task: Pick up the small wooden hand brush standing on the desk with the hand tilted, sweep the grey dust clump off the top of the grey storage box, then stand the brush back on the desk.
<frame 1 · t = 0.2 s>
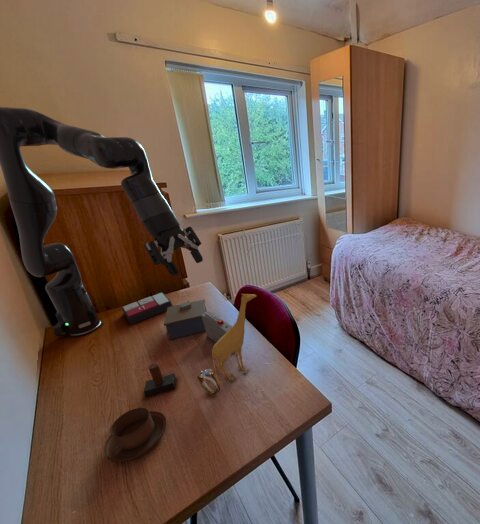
hand: (188, 268, 80), 31 cm above the table, tool tilted 20°, fingers open, 8 cm apart
giraffe: (244, 370, 87), on the table
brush: (162, 388, 81), on the table
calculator: (149, 311, 117), on the table
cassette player: (222, 342, 99), on the table
grey storage box: (190, 326, 107), on the table
brown fedora hat: (139, 439, 68), on the table
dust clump: (186, 306, 107), point 7 cm above the table, touching grey storage box
ring: (212, 393, 79), on the table
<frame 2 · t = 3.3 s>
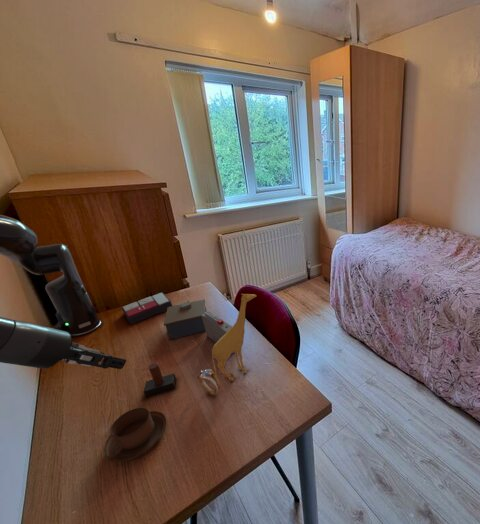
hand: (112, 360, 68), 16 cm above the table, tool tilted 40°, fingers open, 8 cm apart
nothing on the table moved.
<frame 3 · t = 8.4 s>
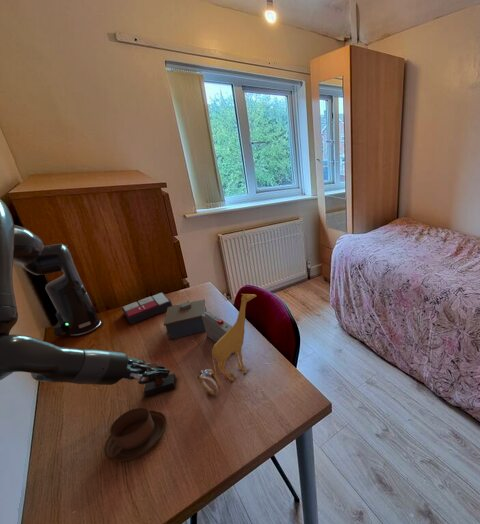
hand: (165, 371, 81), 4 cm above the table, tool tilted 45°, fingers closed on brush, 2 cm apart
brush: (162, 388, 81), on the table, touching gripper
everything else where it was.
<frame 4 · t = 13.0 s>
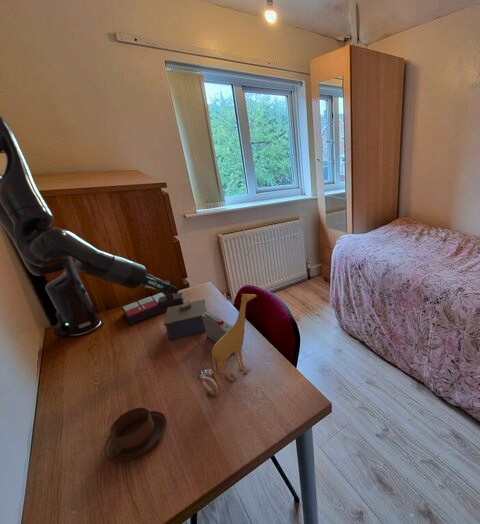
hand: (174, 289, 97), 18 cm above the table, tool tilted 45°, fingers closed on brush
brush: (172, 303, 97), point 13 cm above the table, touching gripper
everything else where it was.
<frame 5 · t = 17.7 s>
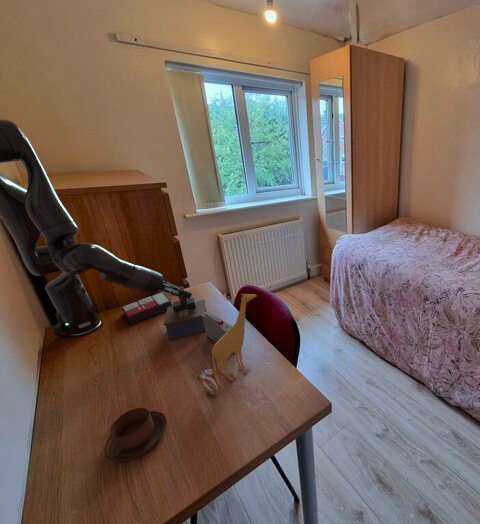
hand: (187, 295, 105), 12 cm above the table, tool tilted 45°, fingers closed on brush
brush: (185, 307, 105), point 8 cm above the table, touching gripper
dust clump: (184, 314, 102), point 7 cm above the table, touching grey storage box
everything else where it was.
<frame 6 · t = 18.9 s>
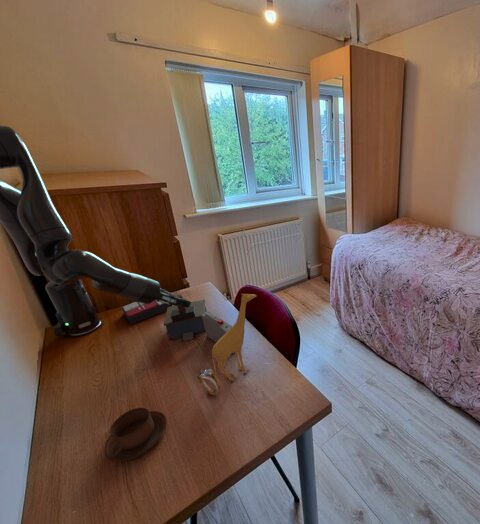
hand: (186, 303, 99), 12 cm above the table, tool tilted 45°, fingers closed on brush
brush: (184, 316, 100), point 8 cm above the table, touching gripper
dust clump: (188, 334, 101), point 1 cm above the table, tilted 180°
everything else where it was.
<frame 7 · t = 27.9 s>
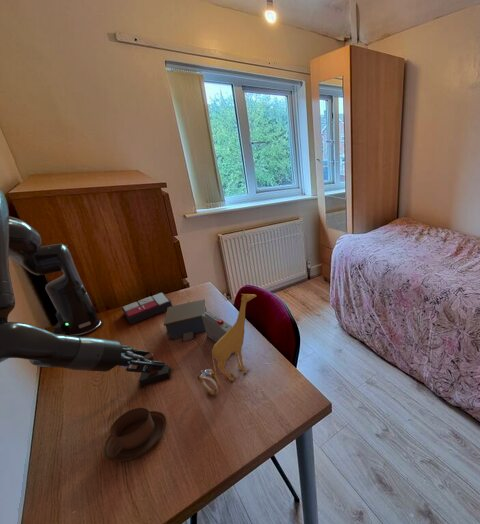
hand: (155, 360, 83), 6 cm above the table, tool tilted 45°, fingers open, 8 cm apart
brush: (156, 378, 84), on the table
everything else where it was.
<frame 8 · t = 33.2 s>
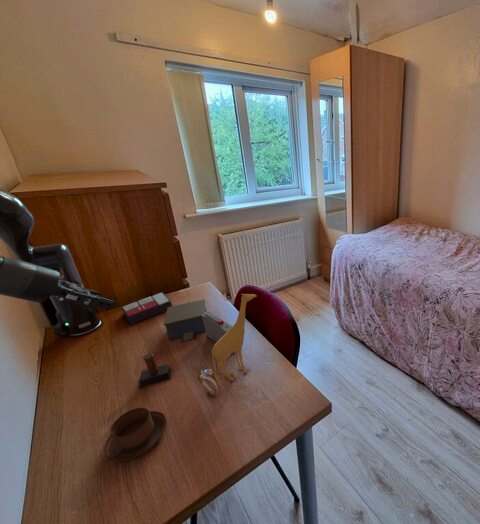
hand: (105, 301, 74), 27 cm above the table, tool tilted 45°, fingers open, 8 cm apart
nothing on the table moved.
at the end: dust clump point 1.2 cm above the table; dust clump moved 11.6 cm from its start; the gripper is holding nothing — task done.
